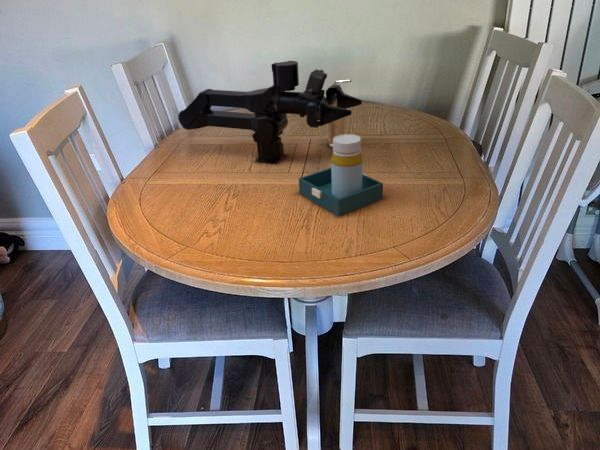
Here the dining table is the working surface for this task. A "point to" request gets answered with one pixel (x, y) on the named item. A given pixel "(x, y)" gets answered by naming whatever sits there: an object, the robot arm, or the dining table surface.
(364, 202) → the teal square tray
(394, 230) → the dining table surface
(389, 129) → the dining table surface
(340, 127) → the cup with straw
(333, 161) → the bottle
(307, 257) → the dining table surface
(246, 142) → the dining table surface
